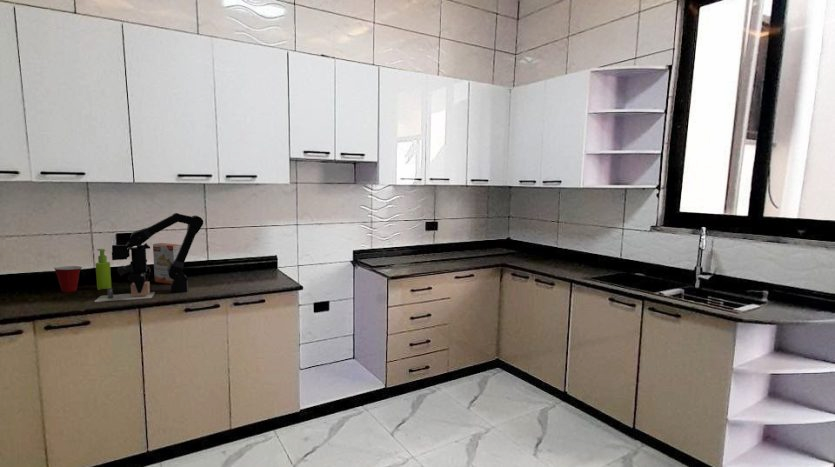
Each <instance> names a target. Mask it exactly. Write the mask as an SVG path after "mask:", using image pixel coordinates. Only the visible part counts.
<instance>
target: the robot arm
mask: <svg viewBox="0 0 835 467" xmlns="http://www.w3.org/2000/svg"><path fill="white" fill-rule="evenodd" d="M177 223H182V224H185V225H187V228H186V233H185V236H184V238H183V240H182V242H181V244H180V245H181V247H180V250H179V252H178V255H177V257H176V259H175V260H174V262H171V261H170V264H169V267H168V268H167V270H168V275H169V277H170V278H171V279H173V280H174V281H173V282H172V284H170V290H171V294H182V293H188V291H189V290H188V288H189V283H188V276H187V275H186V274H185V273H184V267H185V261H186V259H187V256H188V254H189V251H190V250H191V246H192V244H193V242H194V239H195V237H196V235H197V234H198V233H199V231H200V230H201V228H202V227H203V225H204V220H203V218H202V217H200V216H198V215H192V216H191V215H185V214H181V213H178V212H175V213H173V214H171V215H170V216H168V217H166V218H164V219H162V220H160V221H158V222H156V223H153V225H150V226H149V227H148V226H147V227H145V228H142V229H138V230H135V231H133V232H132V233H131V234H130V239H129V240H128V241H127V242H126V244H113V245H112V244H111V250H112V251H111V261H122V260H127V259H128V258H130V256H131V261H130V262H129V264H126V265H121V266H119V267H118V268H117V269H116V270H117V272H116V273H117V274H118V275H119V276H123V275H125V274H128V273H130V274H128V276H127V280H128V281H129V282H132V283H133V282H134V283H135V286H136V289H137V291H138V293H141V291H142V288H143V286H144V283H145V282H146V281H148V280H149V277H150V274H151V270H152V269H151V267H150V266H147V263H148V259H147V251H146V250H148V249H149V250H150V249H151V246H150V245H149V244H147V241H148V240H149V239H150V238H152V236H154V235H155V234H158V233H159V232H161V231H163V230H165V229H166V228H169V227H171V226H173V225H174V224H177ZM145 242H146V243H145ZM130 251H131V252H130Z"/></svg>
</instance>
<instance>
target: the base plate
mask: <svg viewBox="0 0 835 467" xmlns="http://www.w3.org/2000/svg"><path fill="white" fill-rule="evenodd" d="M155 293H156V292H155V291H152V292H151V291H150V292H149V294H148V295H134V296H131V293H122V294H120V293H119V294H113V298H108V294H107V295H106V294H105V295H100V296H99V297H97V299H95V300H94V303H99V302H101V303H102V302H113V301H125V300H141V299H152V298H153V296H154V295H155Z"/></svg>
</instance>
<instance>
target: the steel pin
mask: <svg viewBox="0 0 835 467" xmlns="http://www.w3.org/2000/svg"><path fill="white" fill-rule="evenodd" d="M106 291H107V295H108V298H113V295H114V289H113V287H111V288H107V289H106Z"/></svg>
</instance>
